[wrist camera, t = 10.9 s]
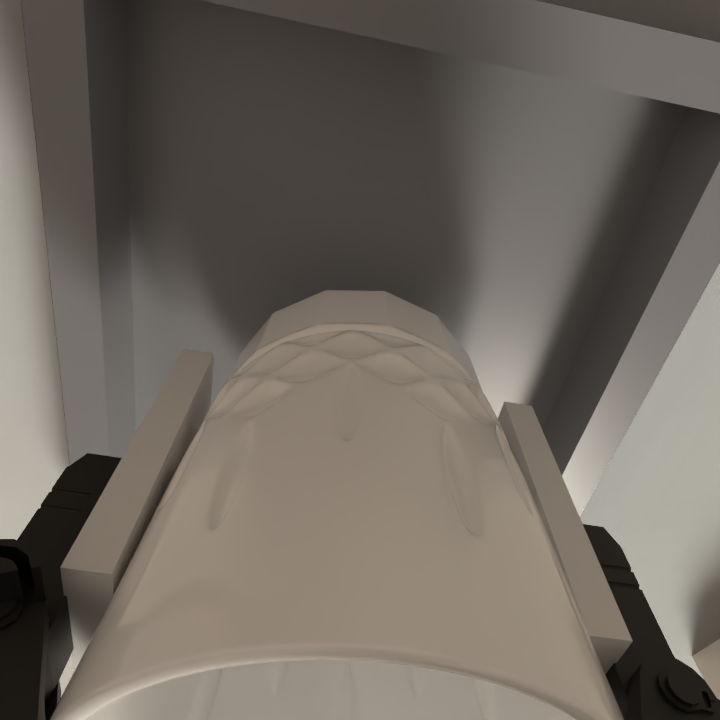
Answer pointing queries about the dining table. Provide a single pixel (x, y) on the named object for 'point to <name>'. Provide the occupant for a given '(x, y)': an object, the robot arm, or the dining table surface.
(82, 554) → the robot arm
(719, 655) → the white cube
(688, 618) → the dining table surface
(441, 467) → the white cup
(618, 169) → the tray
